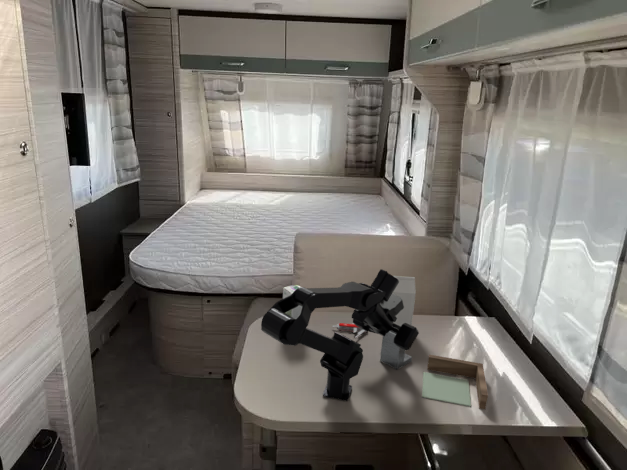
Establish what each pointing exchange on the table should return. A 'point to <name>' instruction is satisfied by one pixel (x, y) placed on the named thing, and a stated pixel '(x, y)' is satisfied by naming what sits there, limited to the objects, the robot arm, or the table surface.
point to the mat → (446, 389)
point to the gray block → (393, 352)
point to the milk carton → (405, 299)
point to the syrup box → (287, 292)
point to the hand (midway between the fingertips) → (395, 339)
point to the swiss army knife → (350, 328)
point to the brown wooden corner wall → (462, 373)
